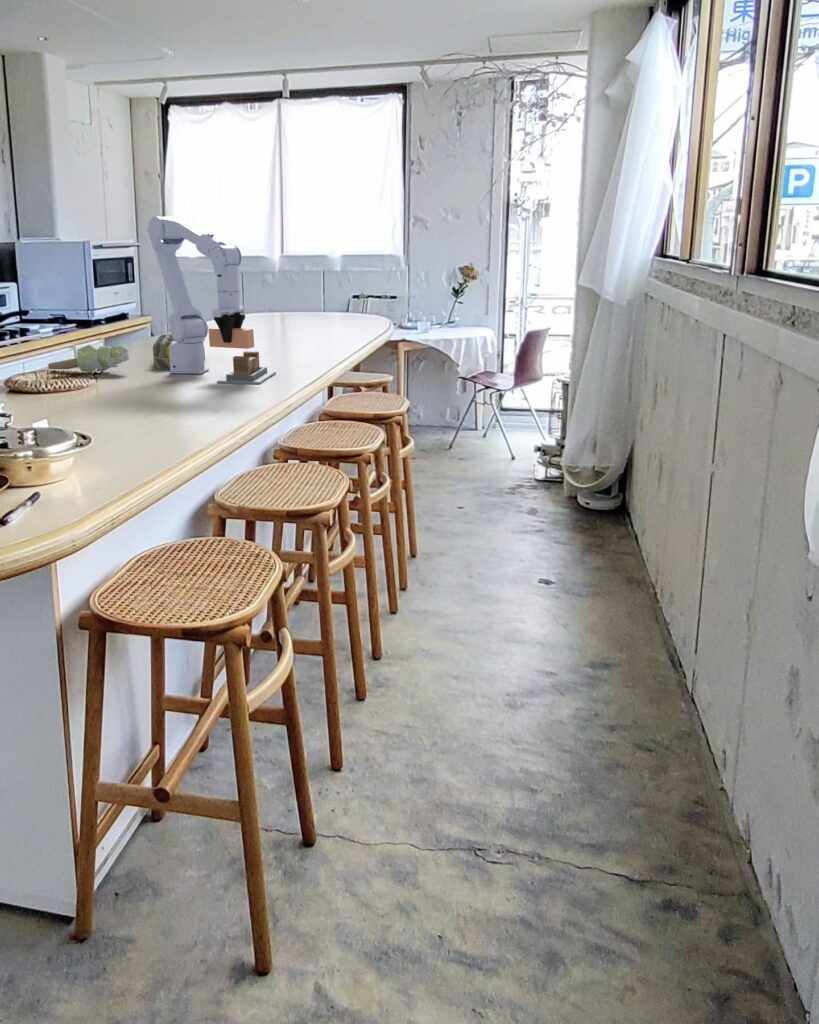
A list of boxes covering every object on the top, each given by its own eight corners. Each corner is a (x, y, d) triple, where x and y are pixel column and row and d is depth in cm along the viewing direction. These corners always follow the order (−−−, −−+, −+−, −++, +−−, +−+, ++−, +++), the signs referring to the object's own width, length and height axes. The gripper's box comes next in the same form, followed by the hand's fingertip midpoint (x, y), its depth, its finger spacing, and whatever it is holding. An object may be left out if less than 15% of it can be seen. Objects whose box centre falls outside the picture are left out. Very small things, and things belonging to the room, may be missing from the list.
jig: (217, 383, 230) (216, 375, 230) (236, 372, 247) (235, 365, 247) (259, 384, 229) (259, 376, 229) (275, 373, 246) (275, 366, 246)
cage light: (149, 344, 248) (158, 332, 276) (152, 371, 250) (160, 356, 278) (200, 343, 250) (204, 331, 278) (202, 370, 253) (205, 355, 281)
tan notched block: (248, 379, 232) (247, 357, 230) (234, 379, 232) (232, 357, 231) (259, 372, 243) (258, 351, 241) (246, 372, 244) (245, 351, 242)
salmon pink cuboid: (254, 347, 234) (253, 329, 232) (248, 348, 231) (246, 330, 229) (216, 345, 237) (215, 327, 236) (209, 346, 234) (208, 328, 233)
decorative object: (39, 372, 240) (119, 357, 236) (44, 345, 244) (122, 329, 240) (58, 389, 248) (135, 374, 243) (62, 362, 252) (138, 347, 248)
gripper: (227, 293, 222) (230, 345, 226) (253, 290, 235) (256, 339, 239) (204, 292, 224) (207, 344, 228) (231, 289, 237) (234, 338, 241)
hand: (231, 341), depth 234 cm, fingers closed on salmon pink cuboid, 4 cm apart
